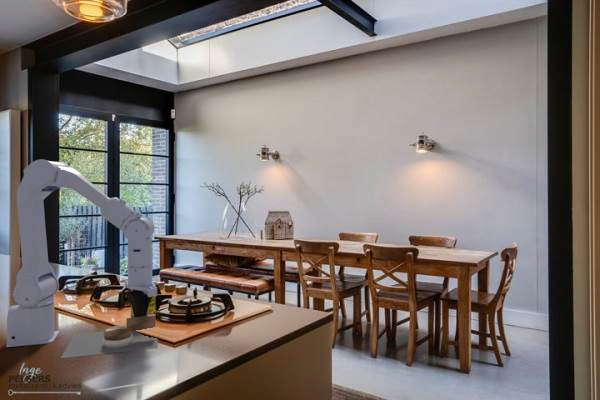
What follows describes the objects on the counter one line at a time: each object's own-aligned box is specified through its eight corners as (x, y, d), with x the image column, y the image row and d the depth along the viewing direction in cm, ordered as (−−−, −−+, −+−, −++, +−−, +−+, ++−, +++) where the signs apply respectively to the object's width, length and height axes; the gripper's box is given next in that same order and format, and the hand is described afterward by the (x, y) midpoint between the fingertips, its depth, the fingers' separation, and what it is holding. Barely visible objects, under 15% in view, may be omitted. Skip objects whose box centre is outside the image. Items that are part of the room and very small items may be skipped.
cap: (106, 342, 96) (106, 325, 96) (102, 334, 101) (102, 319, 101) (158, 333, 103) (158, 317, 103) (151, 326, 108) (151, 311, 108)
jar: (101, 349, 96) (101, 342, 96) (105, 339, 102) (105, 333, 102) (131, 346, 98) (131, 339, 98) (133, 337, 105) (133, 330, 104)
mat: (60, 359, 91) (60, 358, 91) (74, 335, 106) (74, 334, 106) (157, 349, 98) (157, 347, 98) (157, 327, 113) (157, 326, 113)
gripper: (168, 267, 102) (169, 323, 103) (143, 260, 113) (143, 310, 113) (140, 271, 97) (140, 329, 98) (116, 263, 108) (116, 316, 108)
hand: (140, 319), depth 105 cm, fingers closed
